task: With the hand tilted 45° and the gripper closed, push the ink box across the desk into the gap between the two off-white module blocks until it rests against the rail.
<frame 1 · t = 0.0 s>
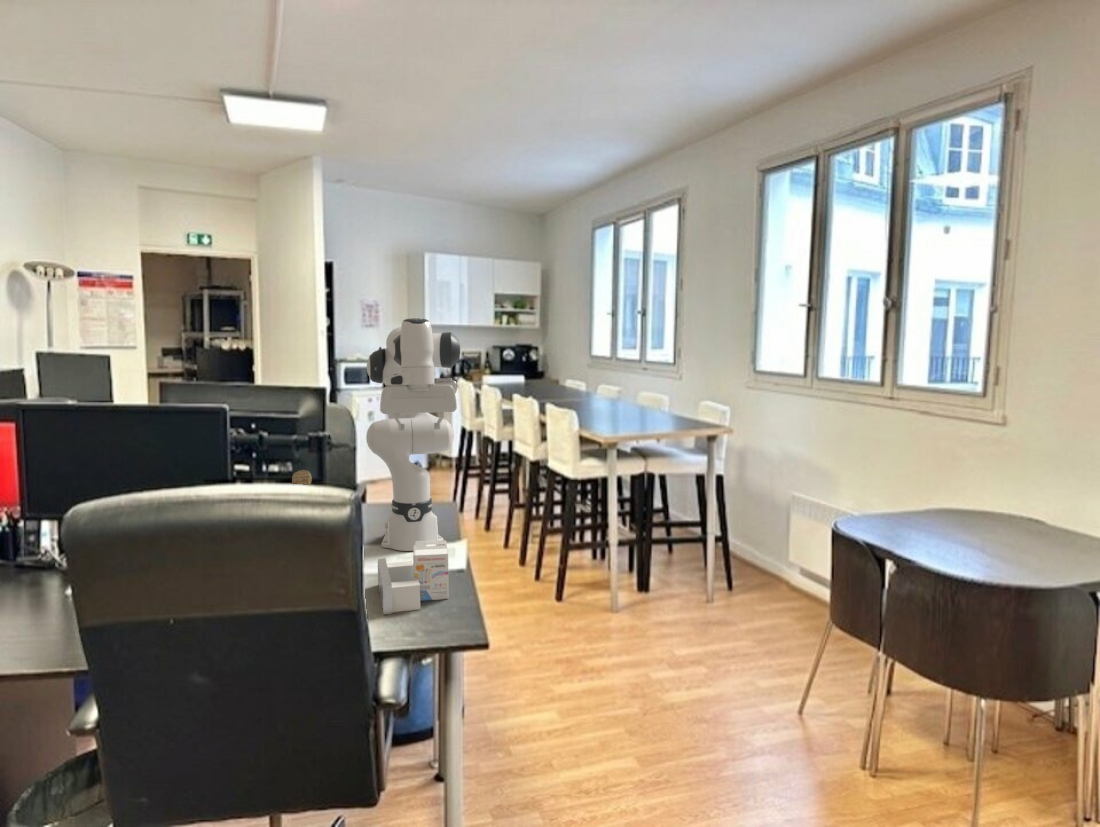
hand: (419, 430, 194), 39 cm above the table, tool pointing down, fingers open, 8 cm apart
sculpture: (306, 584, 188), on the table
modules: (402, 596, 179), on the table
rail: (384, 598, 178), on the table
ink box: (431, 595, 181), on the table
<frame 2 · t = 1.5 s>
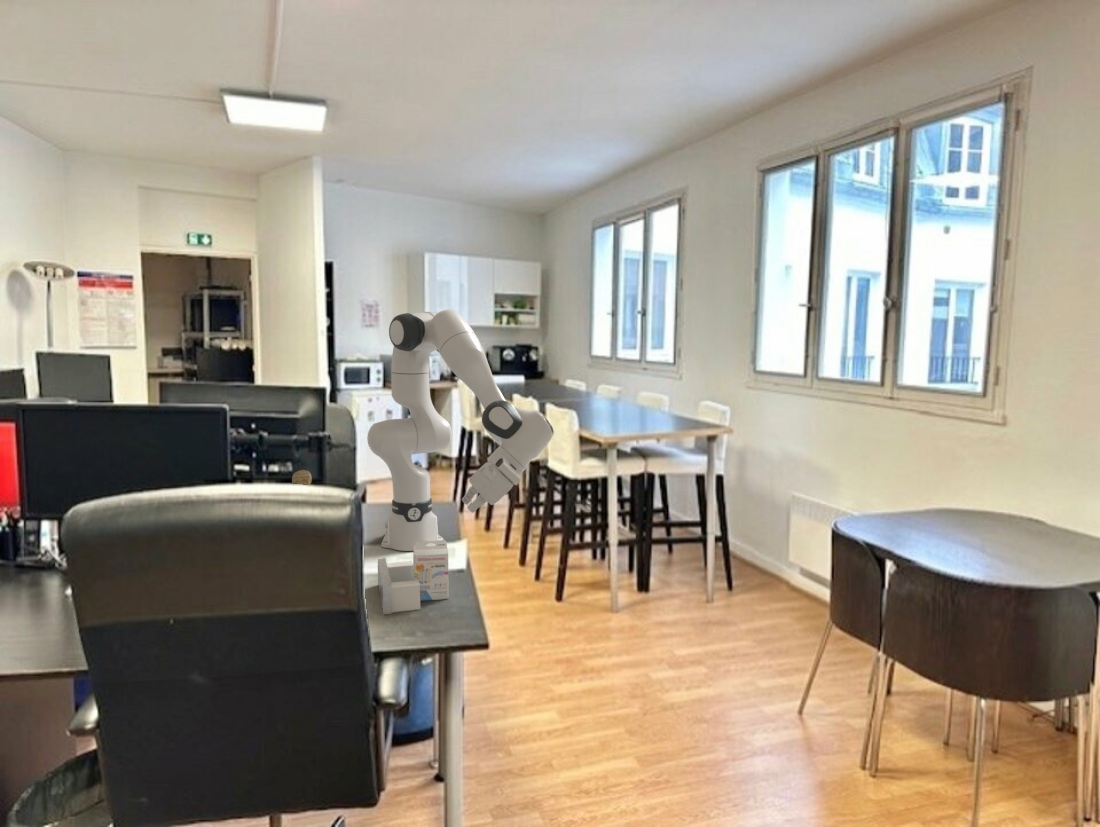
hand: (466, 506, 181), 22 cm above the table, tool tilted 45°, fingers open, 7 cm apart
nothing on the table moved.
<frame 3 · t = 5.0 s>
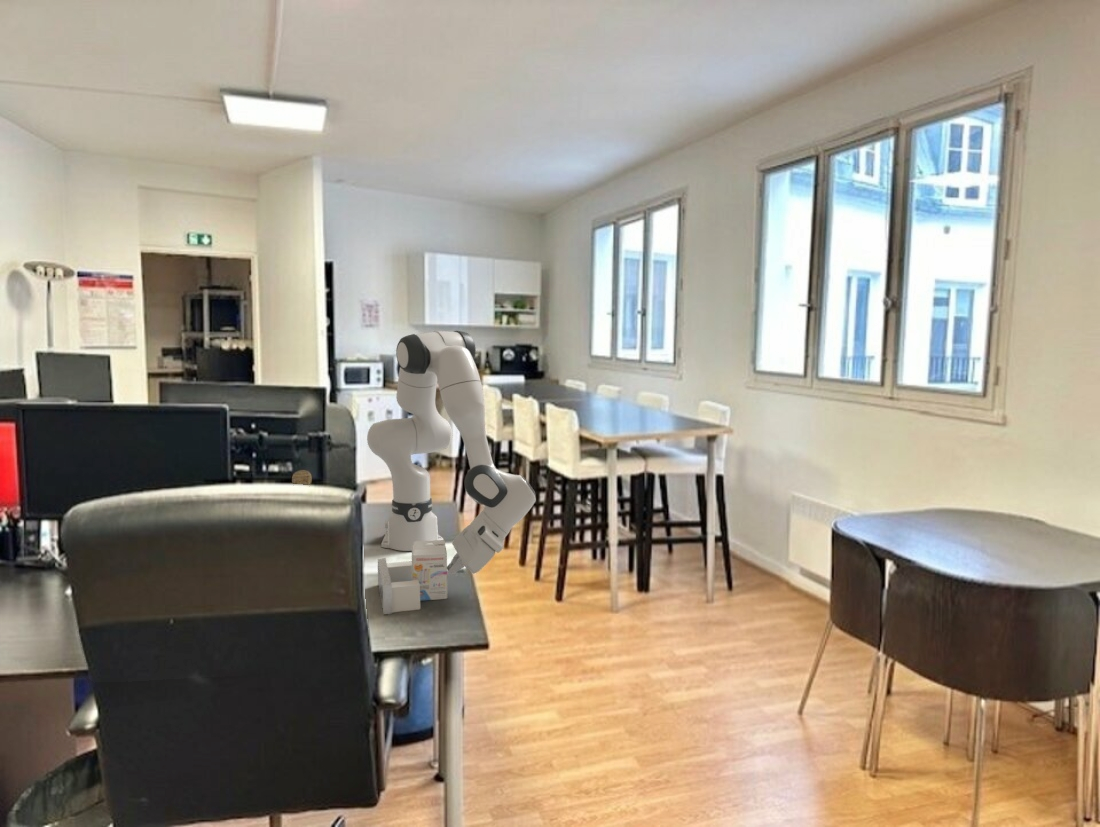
hand: (449, 571, 182), 5 cm above the table, tool tilted 45°, fingers closed
ink box: (429, 595, 181), on the table, touching gripper
everything else where it was.
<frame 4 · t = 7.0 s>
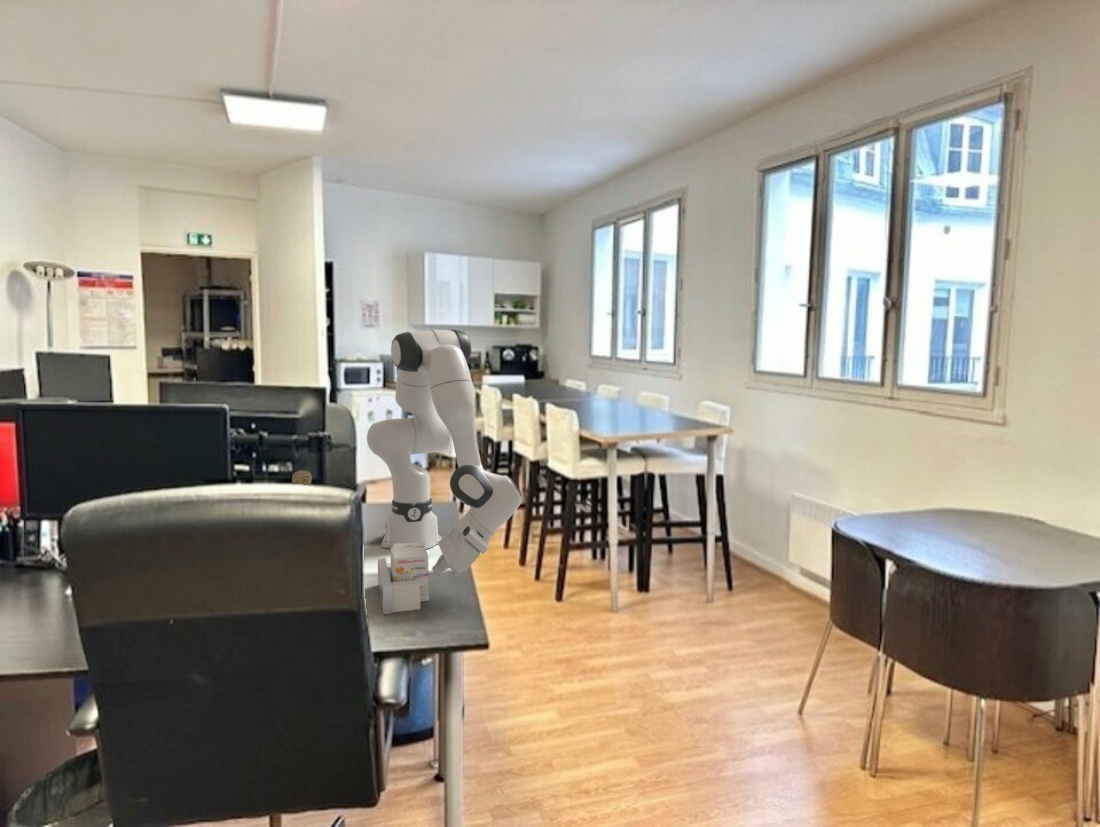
hand: (434, 572, 181), 5 cm above the table, tool tilted 45°, fingers closed
ink box: (409, 597, 179), on the table
everything else where it was.
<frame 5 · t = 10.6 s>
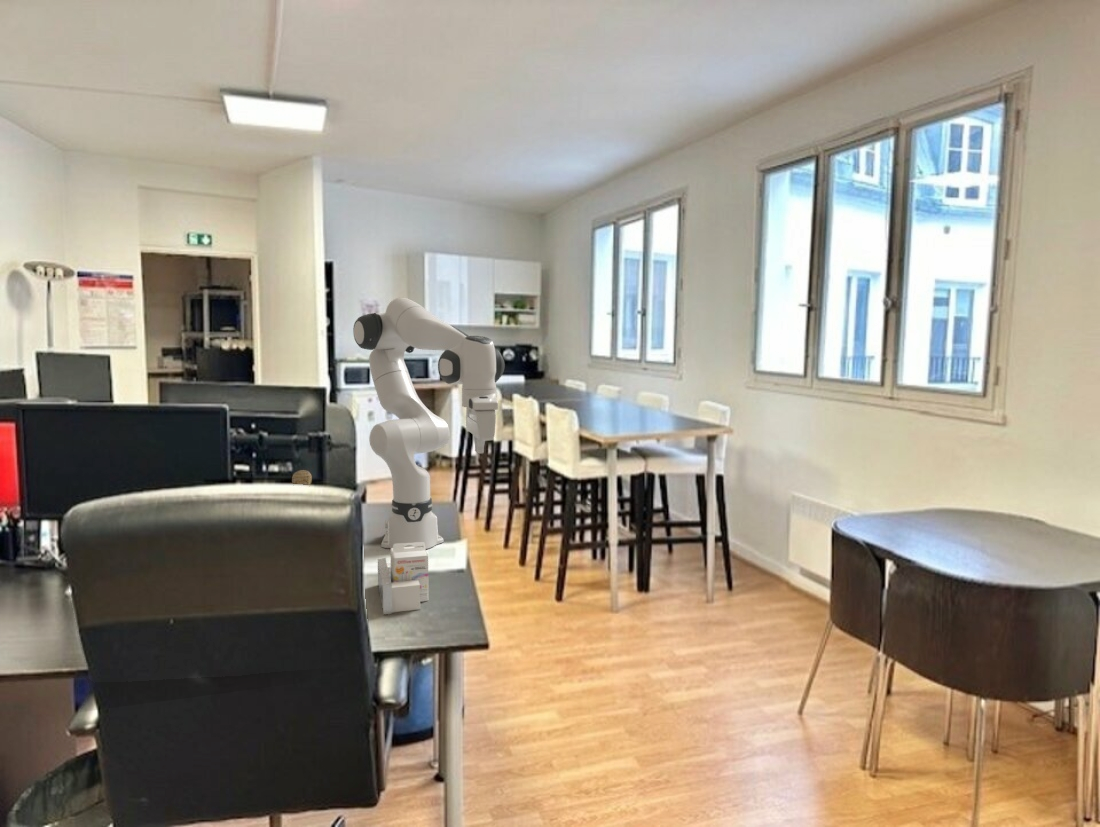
hand: (479, 452, 188), 34 cm above the table, tool pointing down, fingers closed
nothing on the table moved.
at the end: ink box 0.7 cm from the target spot, on the table; ink box tilted 0° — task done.
